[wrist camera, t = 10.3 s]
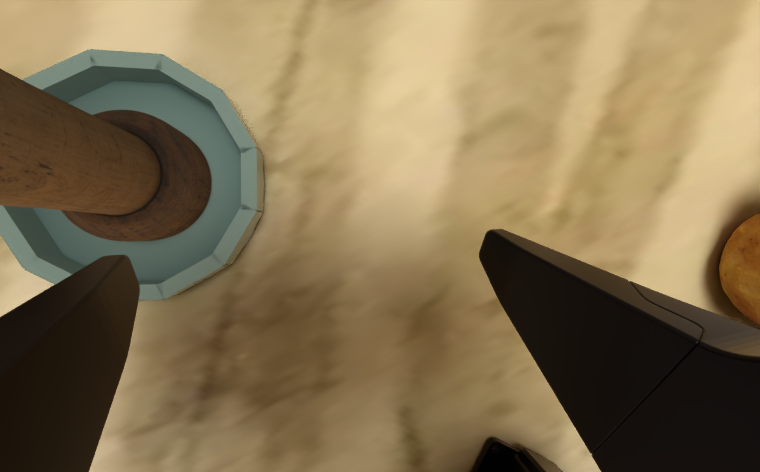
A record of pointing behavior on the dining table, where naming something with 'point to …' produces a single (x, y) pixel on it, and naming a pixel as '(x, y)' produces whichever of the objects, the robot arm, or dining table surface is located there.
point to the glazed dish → (191, 117)
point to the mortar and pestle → (98, 166)
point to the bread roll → (743, 268)
